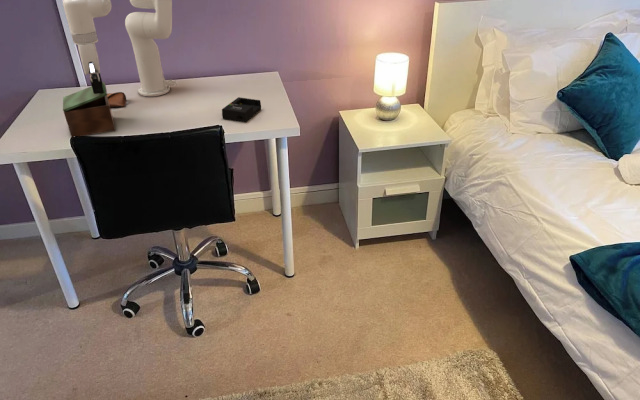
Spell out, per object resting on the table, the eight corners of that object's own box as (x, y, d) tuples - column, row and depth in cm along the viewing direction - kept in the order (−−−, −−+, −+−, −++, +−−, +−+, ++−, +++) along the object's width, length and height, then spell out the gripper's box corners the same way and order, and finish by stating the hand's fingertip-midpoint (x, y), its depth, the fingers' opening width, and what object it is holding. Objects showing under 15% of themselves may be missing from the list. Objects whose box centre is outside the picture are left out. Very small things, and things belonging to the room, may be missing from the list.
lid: (105, 83, 173) (97, 68, 169) (107, 95, 163) (98, 79, 160) (64, 99, 170) (55, 84, 167) (64, 112, 160) (54, 96, 157)
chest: (112, 117, 180) (106, 93, 175) (115, 130, 170) (108, 105, 165) (71, 123, 175) (64, 99, 170) (71, 137, 166) (63, 112, 160)
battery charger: (245, 123, 175) (244, 112, 173) (222, 119, 178) (221, 109, 176) (261, 109, 185) (260, 100, 183) (239, 106, 188) (238, 96, 186)
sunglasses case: (75, 111, 184) (72, 93, 183) (80, 114, 191) (77, 97, 190) (125, 106, 188) (122, 89, 187) (128, 109, 194) (125, 92, 194)
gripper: (72, 32, 163) (86, 82, 172) (72, 45, 150) (87, 98, 159) (96, 30, 165) (108, 79, 175) (98, 42, 152) (111, 95, 161)
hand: (98, 88), depth 167 cm, fingers open, 8 cm apart
